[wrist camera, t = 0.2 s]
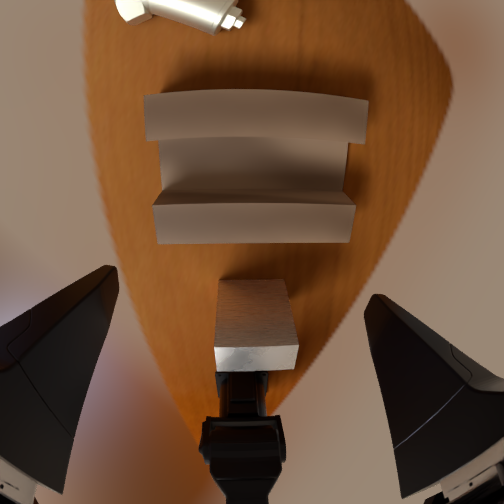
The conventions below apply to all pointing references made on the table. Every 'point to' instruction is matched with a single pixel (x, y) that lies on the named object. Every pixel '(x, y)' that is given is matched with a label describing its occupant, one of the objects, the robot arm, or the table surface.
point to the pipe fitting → (185, 13)
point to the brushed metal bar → (254, 326)
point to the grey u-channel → (253, 165)
